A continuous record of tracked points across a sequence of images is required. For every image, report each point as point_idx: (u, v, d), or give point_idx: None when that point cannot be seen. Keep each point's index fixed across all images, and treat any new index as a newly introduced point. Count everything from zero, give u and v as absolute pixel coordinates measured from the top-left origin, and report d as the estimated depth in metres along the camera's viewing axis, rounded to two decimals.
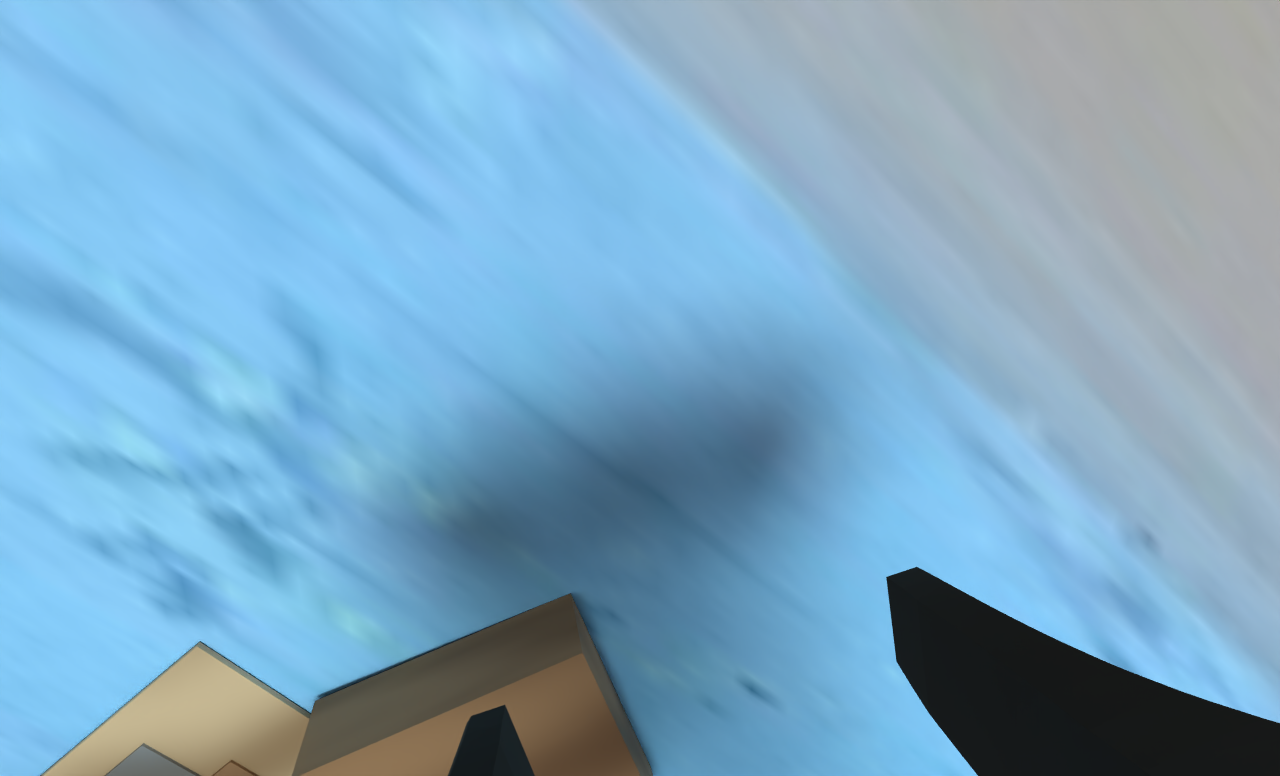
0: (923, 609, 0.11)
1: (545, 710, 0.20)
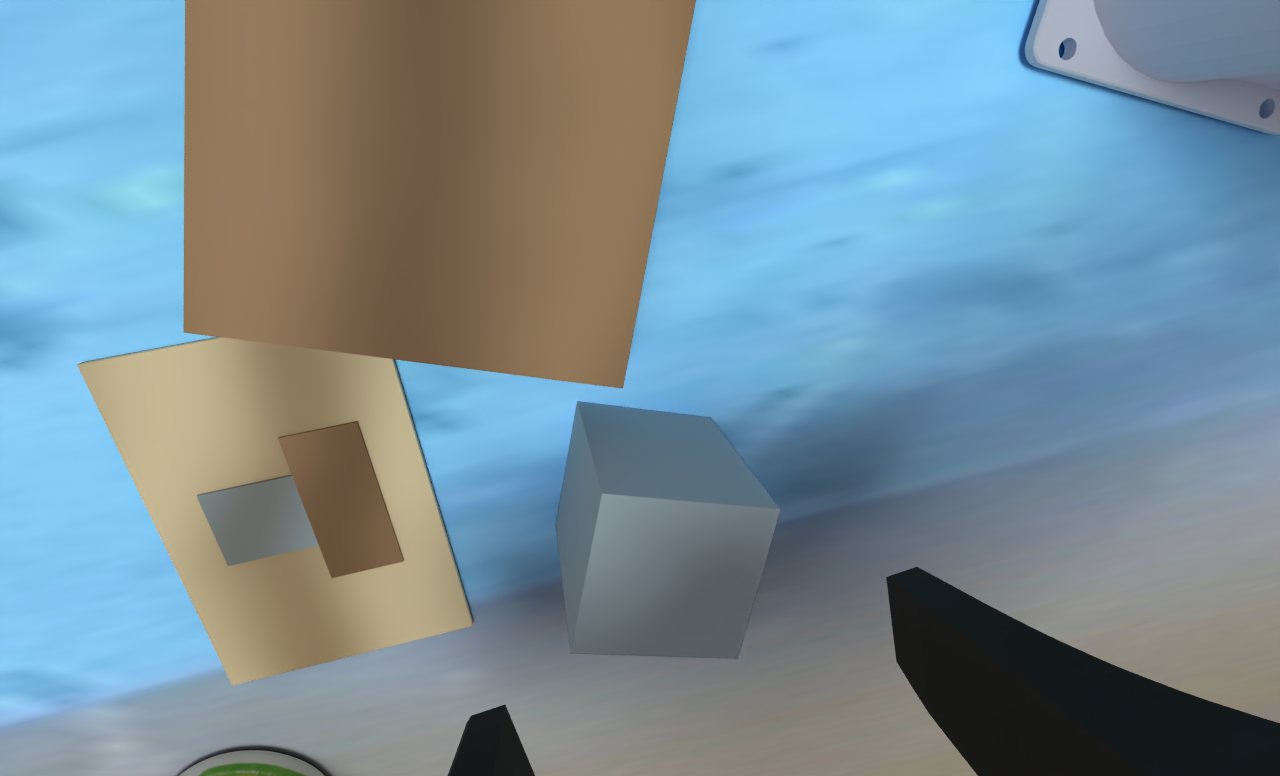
0: (923, 609, 0.11)
1: None
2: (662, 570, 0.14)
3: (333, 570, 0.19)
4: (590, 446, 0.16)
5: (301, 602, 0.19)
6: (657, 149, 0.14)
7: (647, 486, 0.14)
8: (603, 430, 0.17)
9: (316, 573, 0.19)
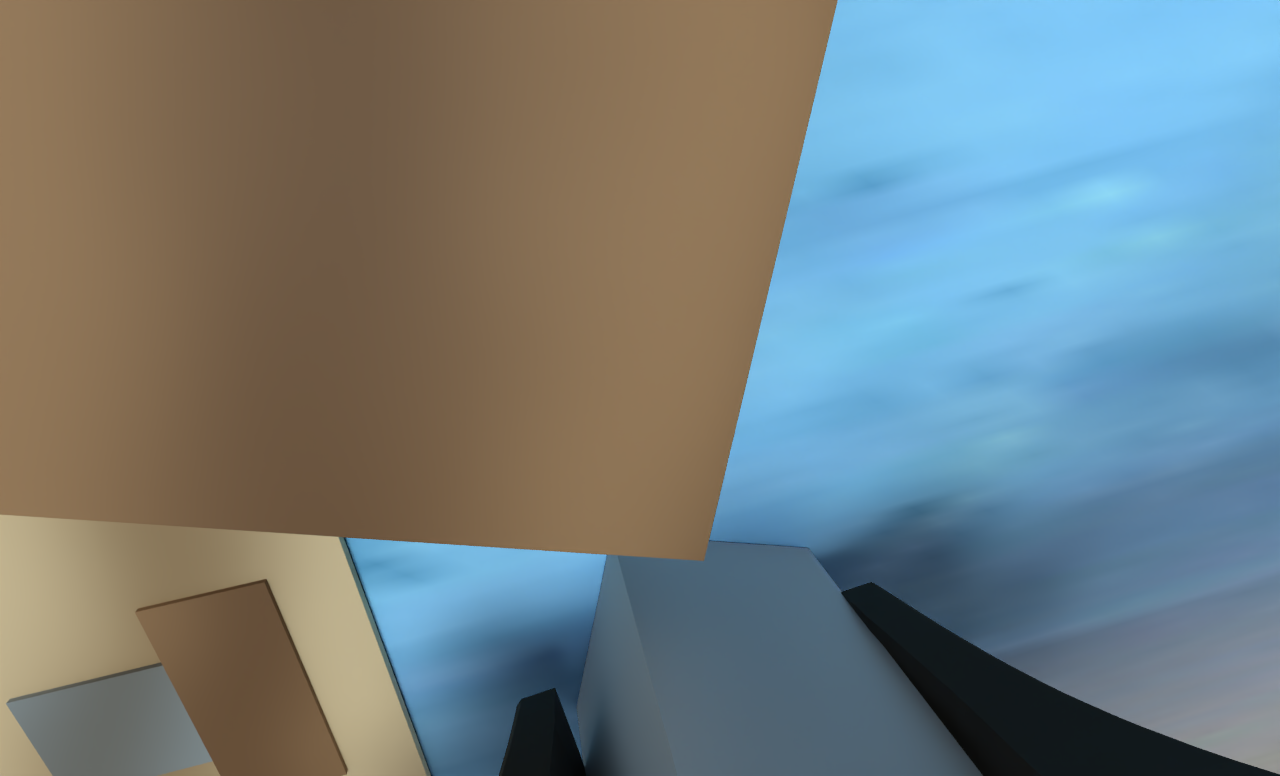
0: (873, 626, 0.11)
1: None
2: None
3: None
4: (645, 652, 0.09)
5: None
6: (784, 147, 0.07)
7: (762, 762, 0.08)
8: (660, 603, 0.10)
9: None
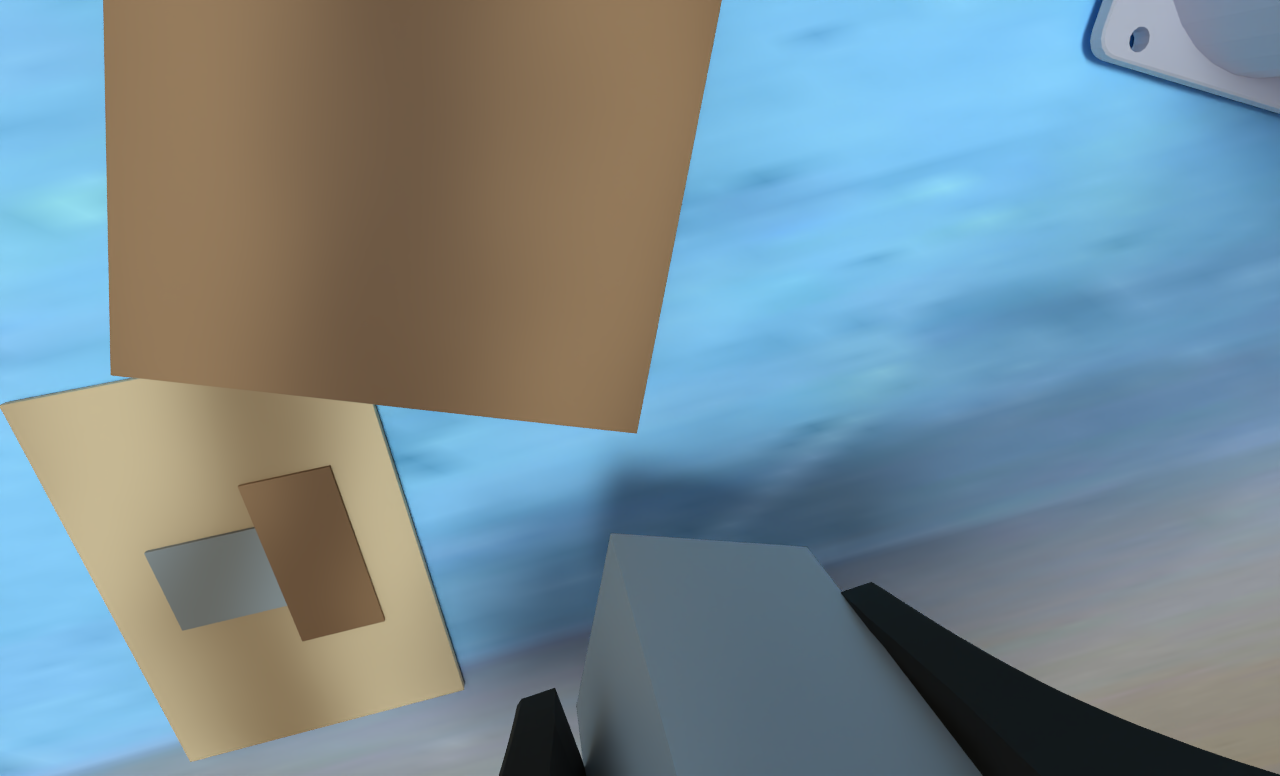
0: (873, 626, 0.11)
1: None
2: None
3: (304, 632, 0.16)
4: (644, 651, 0.09)
5: (268, 668, 0.17)
6: (679, 155, 0.12)
7: (759, 759, 0.08)
8: (659, 602, 0.10)
9: (285, 635, 0.16)
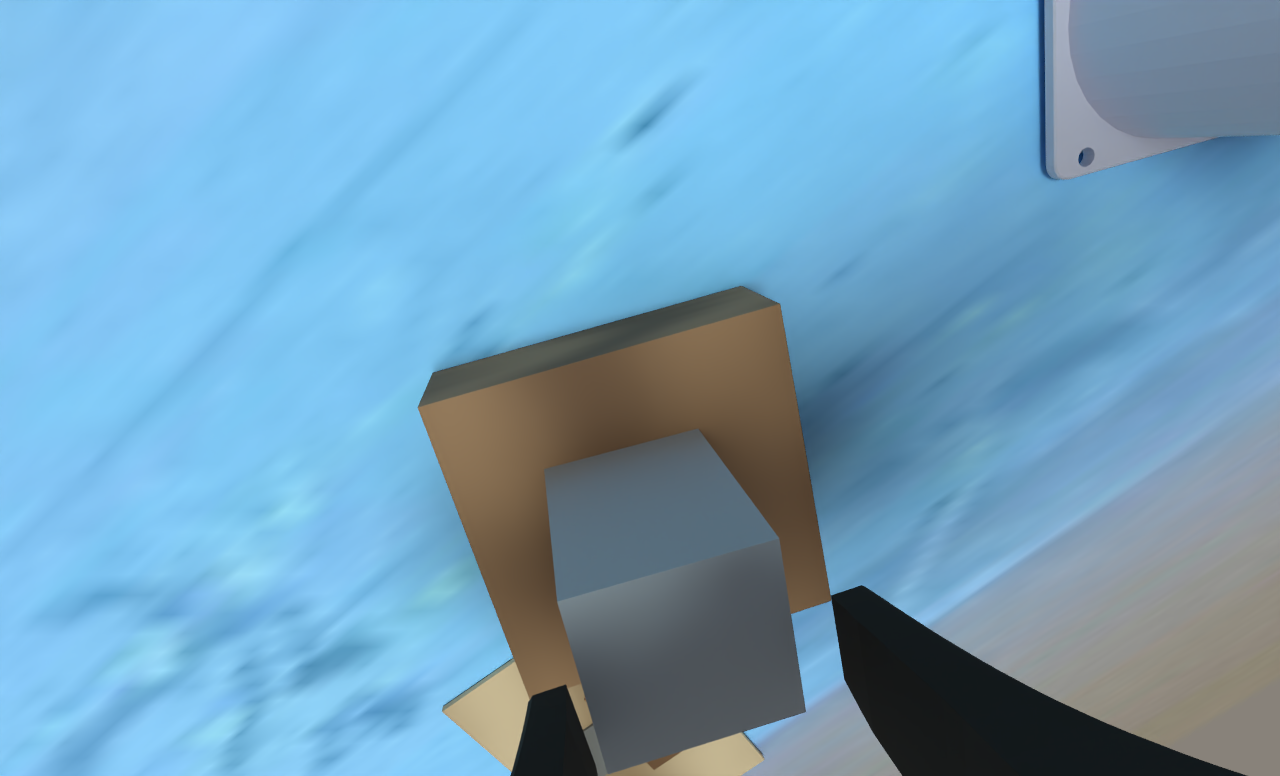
0: (862, 630, 0.11)
1: (500, 455, 0.16)
2: (669, 654, 0.12)
3: (652, 763, 0.24)
4: (551, 532, 0.13)
5: None
6: (795, 442, 0.17)
7: (614, 566, 0.12)
8: (569, 500, 0.15)
9: (642, 770, 0.24)
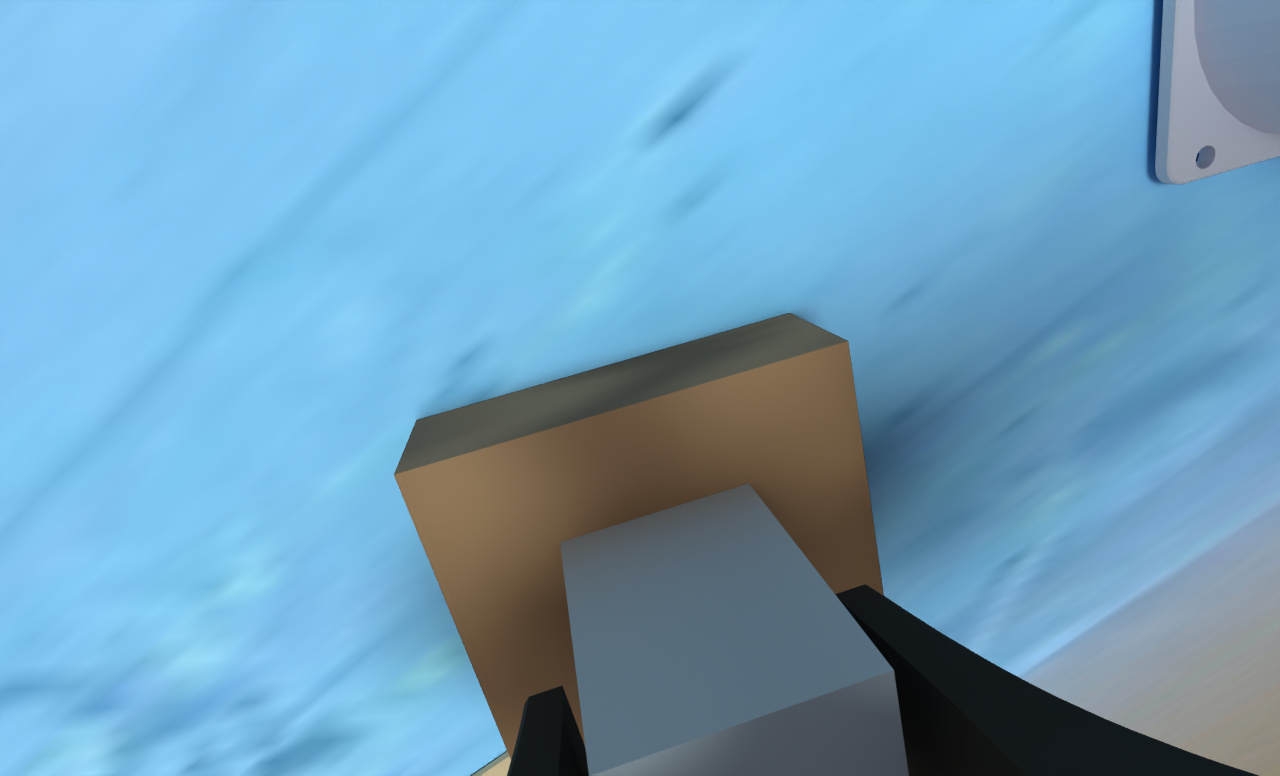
0: (866, 629, 0.11)
1: (499, 531, 0.13)
2: None
3: None
4: (574, 646, 0.10)
5: None
6: (861, 507, 0.14)
7: (664, 713, 0.09)
8: (595, 594, 0.11)
9: None
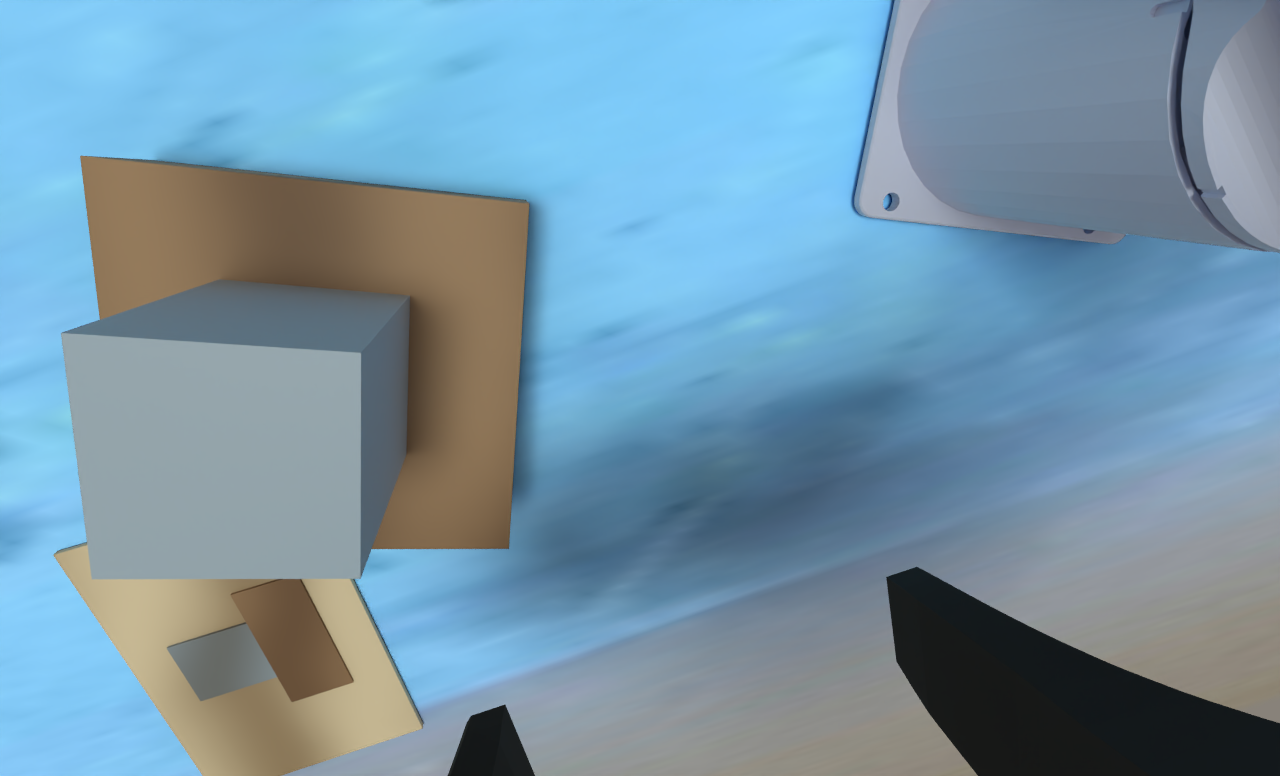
0: (923, 609, 0.11)
1: (168, 249, 0.14)
2: (198, 450, 0.10)
3: (293, 695, 0.21)
4: (147, 304, 0.12)
5: (268, 723, 0.22)
6: (511, 359, 0.16)
7: (164, 331, 0.10)
8: (204, 296, 0.13)
9: (278, 699, 0.21)
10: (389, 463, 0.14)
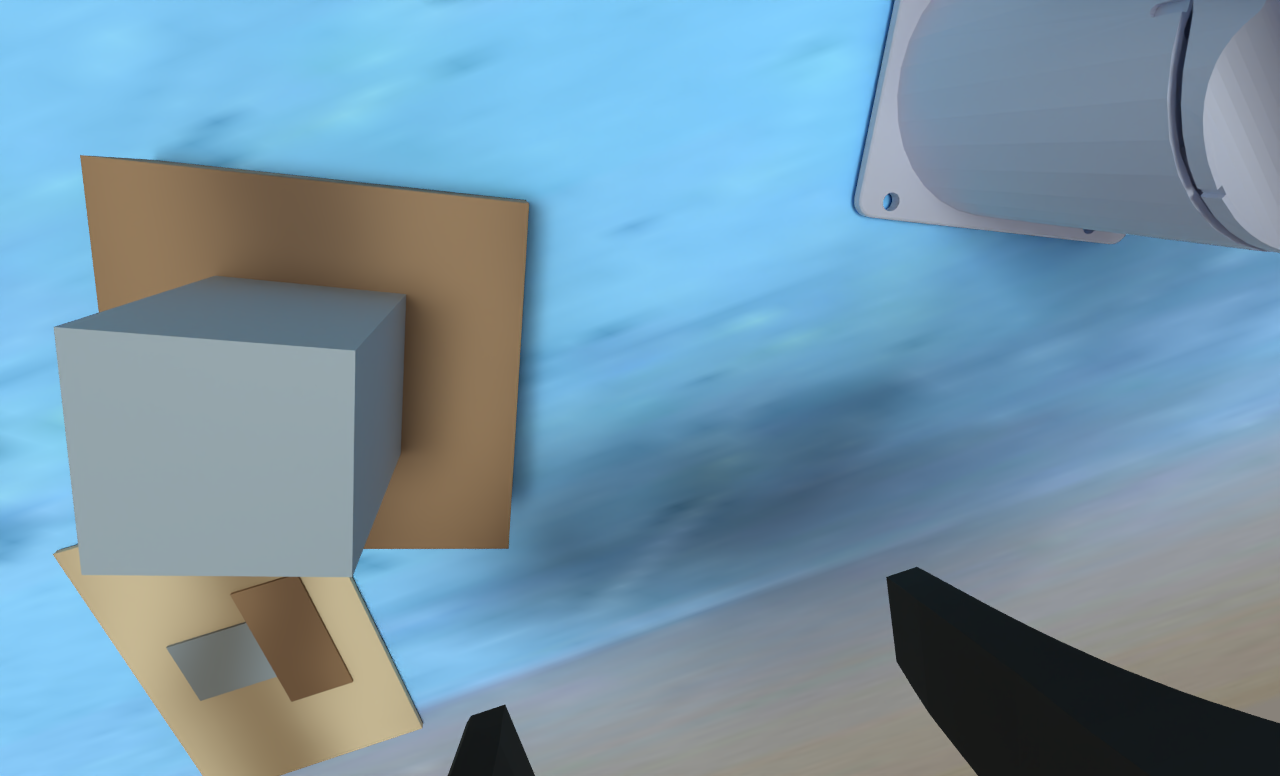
0: (923, 609, 0.11)
1: (167, 249, 0.14)
2: (191, 446, 0.10)
3: (292, 694, 0.21)
4: (142, 299, 0.12)
5: (268, 723, 0.22)
6: (510, 359, 0.16)
7: (159, 326, 0.10)
8: (200, 292, 0.13)
9: (278, 698, 0.21)
10: (383, 462, 0.14)
